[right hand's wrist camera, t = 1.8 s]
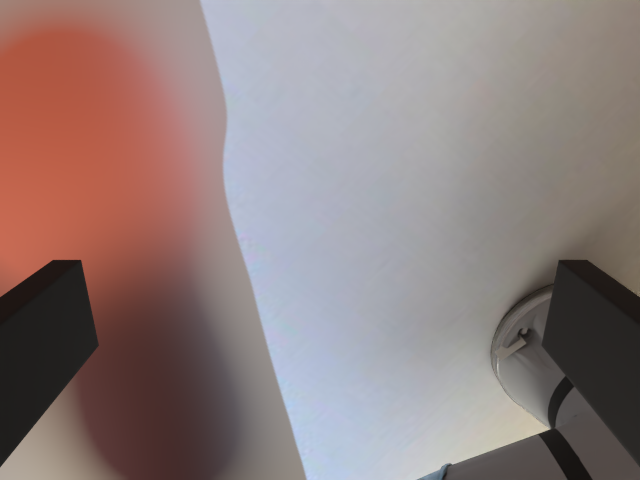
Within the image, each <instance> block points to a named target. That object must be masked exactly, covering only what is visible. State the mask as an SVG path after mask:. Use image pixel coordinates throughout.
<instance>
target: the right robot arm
mask: <svg viewBox="0 0 640 480" xmlns="http://www.w3.org/2000/svg"><path fill="white" fill-rule="evenodd" d="M98 346H99V345H98V340H97V335H96V330H95V325H94V320H93V315H92V311H91V306H90V301H89V296H88V291H87V287H86V282H85V277H84V272H83V267H82V262H81V260H52V261H51V262H50V263H48V264H47V265H45V266H44V267H43V268H41V269H40V270H38V271H37V272H35V273H34V274H33V275H31V276H30V277H28V278H27V279H25V280H24V281H23V282H21V283H20V284H18V285H17V286H16V287H14V288H13V289H11V290H10V291H8V292H7V293H6V294H4V295H3V296H1V297H0V467H1V466H2V464H3V463H4V462H5V461H6V459H7V458H8V457H9V456H10V455H11V453H12V452H13V451H14V450H15V448H16V447H17V446H18V445H19V443H20V442H21V441H22V440H23V438H24V437H25V436H26V435H27V434H28V432H29V431H30V430H31V429H32V427H33V426H34V425H35V424H36V422H37V421H38V420H39V419H40V417H41V416H42V415H43V414H44V412H45V411H46V410H47V409H48V408H49V406H50V405H51V404H52V403H53V401H54V400H55V399H56V398H57V396H58V395H59V394H60V393H61V391H62V390H63V389H64V388H65V387H66V385H67V384H68V383H69V382H70V380H71V379H72V378H73V377H74V375H75V374H76V373H77V372H78V370H79V369H80V368H81V367H82V365H83V364H84V363H85V362H86V361H87V359H88V358H89V357H90V356H91V354H92V353H93V352H94V351H95V349H96V348H97V347H98ZM491 362H492V367H493V370H494V373H495V375H496V377H497V378H498V380H499V382H500V384H501V385H502V387H503V389H504V391H505V392H506V393H507V395H508V396H509V397H510V398H511V399H512V400H513V401H514V402H516V403H517V404H518V405H520V406H521V407H522V408H524V409H525V410H526V411H527V412H529V413H530V414H531V415H532V416H534V417H535V418H536V419H538V420H539V421H540V422H541V423H543V424H544V425H545V426H547V427H548V428H549V429H550V430H548V431H545V432H542V433H540V434H536V435H534V436H531V437H528V438H526V439H523V440H520V441H517V442H515V443H512V444H509V445H506V446H503V447H501V448H498V449H495V450H492V451H490V452H487V453H484V454H481V455H479V456H476V457H473V458H470V459H467V460H465V461H462V462H459V463H456V464H454V465H452V464H451V463H449V464H445V465H444V466H442V468H441V469H440V470H438V471H436V472H434V473H431V474H429V475H427V476H424V477H422V478H420V479H417V480H640V297H639V296H637V295H636V294H634V293H633V292H632V291H630V290H629V289H627V288H626V287H624V286H623V285H622V284H620V283H619V282H617V281H616V280H615V279H613V278H612V277H610V276H609V275H607V274H606V273H605V272H603V271H602V270H600V269H599V268H598V267H596V266H595V265H593V264H592V263H590V262H589V261H588V260H559V262H558V267H557V272H556V277H555V282H554V284H553V285H550V286H547V287H545V288H542V289H540V290H538V291H536V292H534V293H532V294H531V295H529V296H527V297H526V298H524V299H523V300H522V301H520V302H519V303H518V304H517V305H516V306H515V307H514V308H513V309H511V310H510V312H509V313H508V314H507V315H506V316H505V318H504V319H503V320H502V322H501V323H500V325H499V327H498V329H497V331H496V333H495V336H494V339H493V342H492V347H491Z"/></svg>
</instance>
